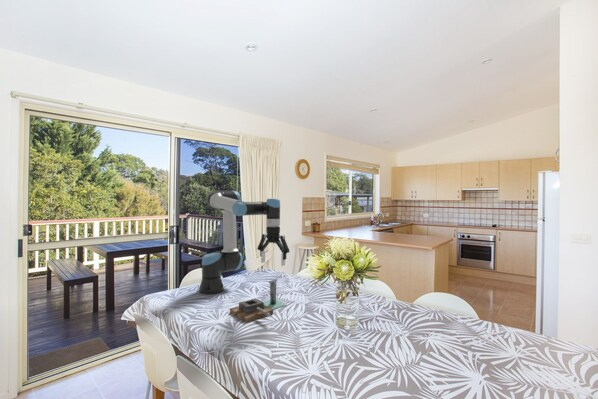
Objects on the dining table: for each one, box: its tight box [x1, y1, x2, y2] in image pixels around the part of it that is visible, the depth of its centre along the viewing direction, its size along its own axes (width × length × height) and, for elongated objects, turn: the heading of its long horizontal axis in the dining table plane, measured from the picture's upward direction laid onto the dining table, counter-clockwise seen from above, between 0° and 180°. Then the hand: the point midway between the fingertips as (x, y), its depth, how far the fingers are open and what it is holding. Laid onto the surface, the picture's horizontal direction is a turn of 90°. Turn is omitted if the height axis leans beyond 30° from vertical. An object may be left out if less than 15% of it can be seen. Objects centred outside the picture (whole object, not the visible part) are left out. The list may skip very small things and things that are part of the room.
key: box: [268, 278, 278, 305], centre depth 166 cm, size 6×3×13 cm, turn 150°
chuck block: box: [229, 297, 274, 323], centre depth 151 cm, size 24×16×6 cm, turn 40°
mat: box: [263, 299, 287, 311], centre depth 166 cm, size 12×10×1 cm
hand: (273, 263), depth 166 cm, fingers open, 13 cm apart
